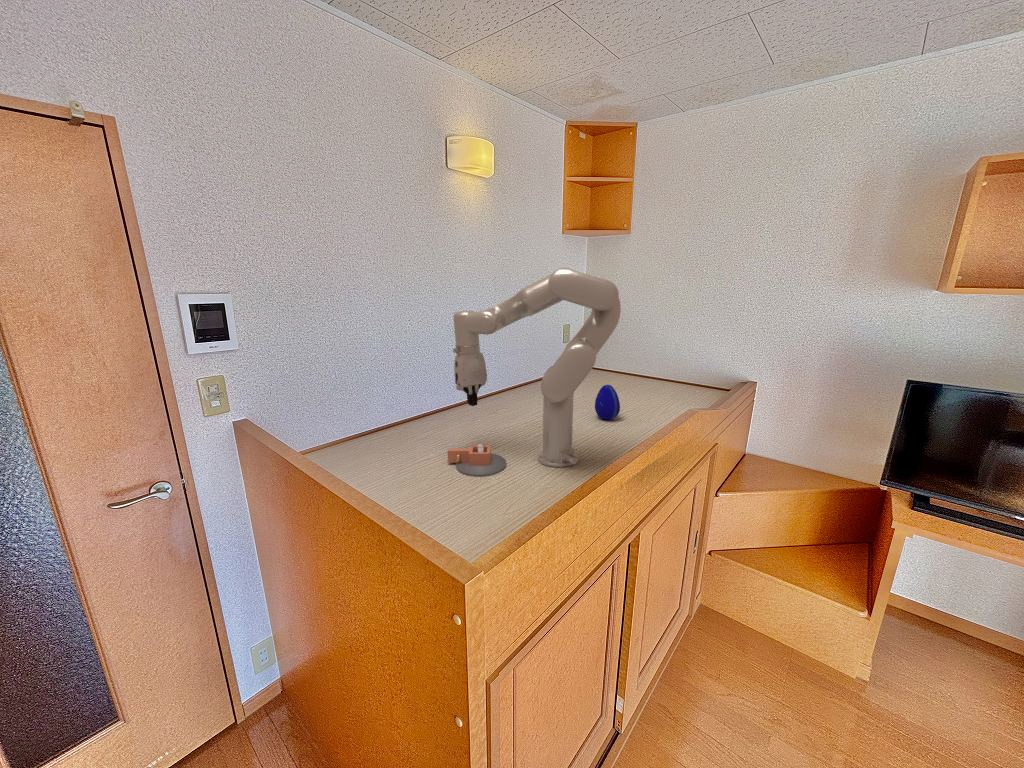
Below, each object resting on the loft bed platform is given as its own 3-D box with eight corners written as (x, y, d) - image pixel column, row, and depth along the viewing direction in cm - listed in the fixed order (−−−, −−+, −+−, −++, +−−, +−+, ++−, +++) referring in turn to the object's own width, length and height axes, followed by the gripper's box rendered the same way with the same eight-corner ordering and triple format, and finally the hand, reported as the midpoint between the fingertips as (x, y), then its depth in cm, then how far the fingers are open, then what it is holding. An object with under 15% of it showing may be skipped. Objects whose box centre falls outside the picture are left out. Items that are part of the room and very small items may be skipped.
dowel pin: (461, 463, 131) (460, 454, 131) (457, 464, 131) (457, 455, 130) (459, 462, 132) (458, 453, 132) (455, 463, 132) (455, 454, 131)
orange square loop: (490, 456, 136) (490, 445, 135) (489, 465, 130) (489, 453, 129) (449, 457, 136) (449, 445, 135) (446, 465, 130) (446, 453, 129)
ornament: (623, 421, 172) (625, 386, 168) (604, 424, 169) (606, 388, 165) (607, 413, 182) (609, 380, 178) (589, 416, 179) (591, 382, 175)
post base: (516, 466, 130) (515, 445, 129) (473, 481, 121) (472, 458, 119) (487, 451, 143) (487, 431, 141) (446, 463, 133) (445, 442, 132)
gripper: (453, 354, 125) (459, 412, 129) (493, 347, 133) (497, 402, 138) (441, 352, 130) (447, 407, 135) (480, 346, 139) (484, 398, 144)
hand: (472, 404), depth 136 cm, fingers closed
